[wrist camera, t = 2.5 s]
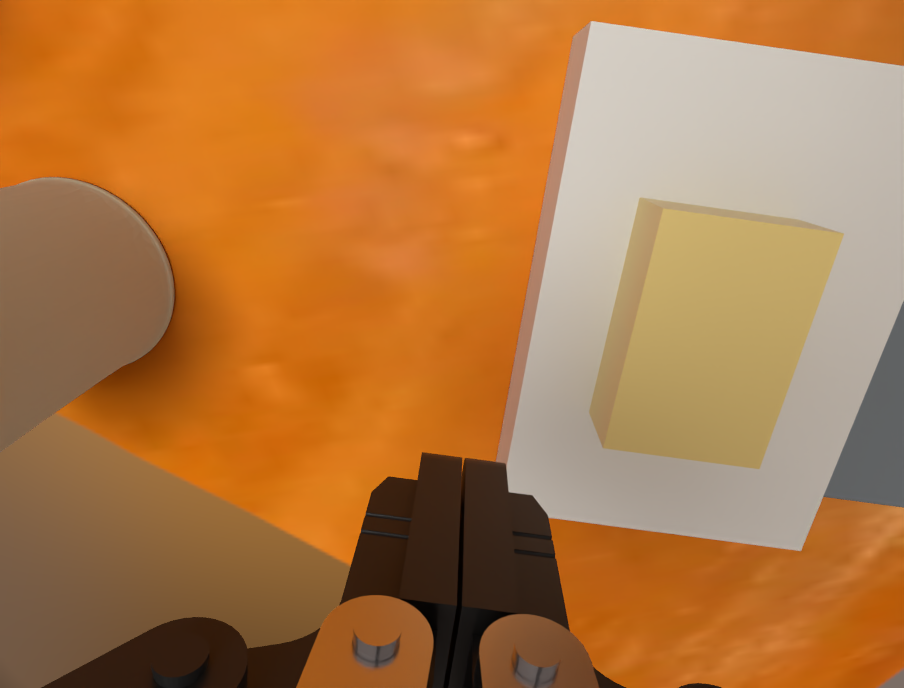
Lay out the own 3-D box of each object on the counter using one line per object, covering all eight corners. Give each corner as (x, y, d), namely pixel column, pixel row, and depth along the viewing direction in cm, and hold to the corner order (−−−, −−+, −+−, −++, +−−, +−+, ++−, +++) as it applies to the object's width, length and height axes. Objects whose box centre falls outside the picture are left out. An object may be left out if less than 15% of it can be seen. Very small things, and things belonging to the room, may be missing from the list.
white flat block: (573, 36, 24) (591, 21, 21) (914, 85, 24) (994, 79, 21) (495, 464, 31) (498, 511, 28) (761, 499, 31) (800, 550, 28)
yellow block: (639, 197, 22) (663, 208, 20) (797, 219, 23) (844, 233, 20) (589, 412, 26) (603, 448, 23) (728, 430, 26) (759, 469, 23)
